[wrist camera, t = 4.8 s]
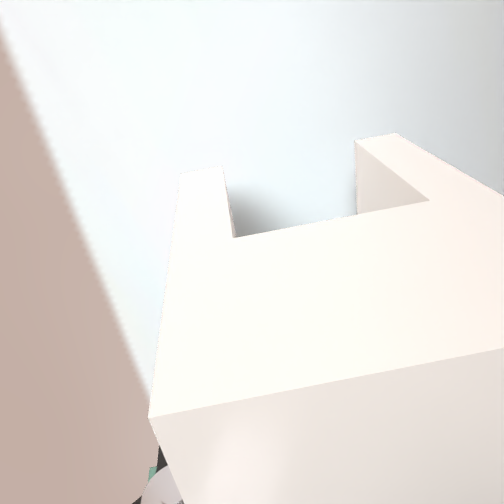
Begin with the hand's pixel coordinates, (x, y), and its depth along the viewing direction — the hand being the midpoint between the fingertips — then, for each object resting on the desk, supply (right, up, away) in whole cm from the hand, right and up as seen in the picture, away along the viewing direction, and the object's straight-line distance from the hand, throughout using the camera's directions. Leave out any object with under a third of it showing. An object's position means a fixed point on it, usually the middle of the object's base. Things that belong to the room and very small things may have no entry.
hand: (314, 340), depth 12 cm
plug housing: (0, 0, +1) cm, 1 cm away
